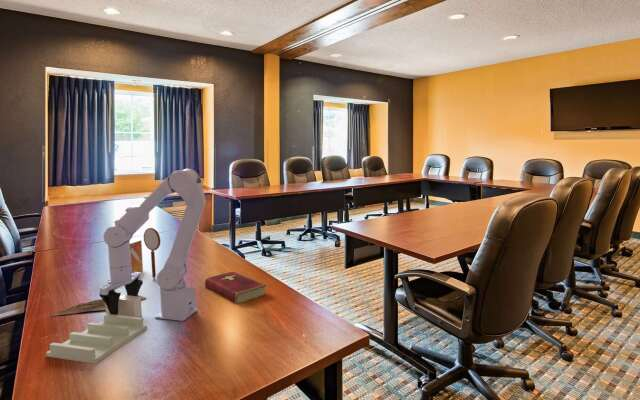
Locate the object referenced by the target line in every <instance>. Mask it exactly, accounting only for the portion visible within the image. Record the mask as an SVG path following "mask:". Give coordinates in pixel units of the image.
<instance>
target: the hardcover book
mask: <svg viewBox="0 0 640 400" xmlns="http://www.w3.org/2000/svg"><path fill="white" fill-rule="evenodd" d="M204 287H205V288H206V289H207V290H209V291H211V292H213V293H215V294H217V295H219V296H221V297H223V298H224V299H226V300H228V301H230V302H232V303H234V305H238V304H240V303H243V302H247V301H250V300H252V298H253V299H256V298H259V297H262V296H265V295H266V288H265V287H267V284H265V283H263V282H261V281H258V280H256V279H253V278H252V277H251V278H250V277H249V276H246V275H244V274H242V273H240V272H237V271H235V270H232V271H228V272H224V273H220V274H216V275H212V276H208V277H205V279H204ZM264 294H265V295H264ZM261 295H262V296H261ZM258 296H259V297H258ZM255 297H256V298H255ZM249 299H250V300H249Z"/></svg>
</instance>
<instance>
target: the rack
mask: <svg viewBox="0 0 640 400" xmlns="http://www.w3.org/2000/svg"><path fill="white" fill-rule="evenodd" d="M147 329H148V324H146V323H145V324H144V317H130V316H121V315H113V314H106V313H105V314H103V320H101V321H100V322H88V323H87V329H85V330H84V331H81V332H78V331H77V332H76V331H72V332H70V333H69V339H67V340H66V341H63V342H62V343H60V342H51V343H50V344H49V350H47V351H46V352H45V356H46V357H47V358H48V357H49V358H55V359H61V360H67V361H74V362H75V361H76V362H82V363H88V364H97V363H99V362H101V360H102V359H104V358H106V357H107V356H109V355H110V354H112V353H113V352H114V351H116V350H117V349H120V348H121V347H122V346H123V345H125V344H126V343H128V342H130V340H132V339H134V338H135V337H136V336H138V335H139V334H141V333H143V332H144V331H145V330H147Z"/></svg>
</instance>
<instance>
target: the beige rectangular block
mask: <svg viewBox="0 0 640 400" xmlns="http://www.w3.org/2000/svg"><path fill="white" fill-rule="evenodd" d="M138 296H139V295H138ZM138 296H128V295H127V294H120V297H119V303H118V315H121V316H130V317H139V318H141V317H142V316H143V313H142V312H143V311H142V310H143V309H142V299H141V297H138ZM104 311H105V314H110V313H109V310H108V308H107V305H106V304H105V310H104Z"/></svg>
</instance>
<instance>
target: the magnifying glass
mask: <svg viewBox="0 0 640 400" xmlns="http://www.w3.org/2000/svg"><path fill="white" fill-rule="evenodd" d="M143 242H144V245H145V246H146V248H147V249H148V250H150V251H151V252H150V256H151V257H150V258H151V274H152V275H151V277H152V279H153V280H155V279H156V278H157V274H156V273H157V272H156V257H155V255H156V254H155V251H157V250H158V249H159V248H160V245H161V236H160V233H159V232H158V231H157V230H156V229H155V228H153V227H149V228H147V229H145V231H144V233H143Z"/></svg>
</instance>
